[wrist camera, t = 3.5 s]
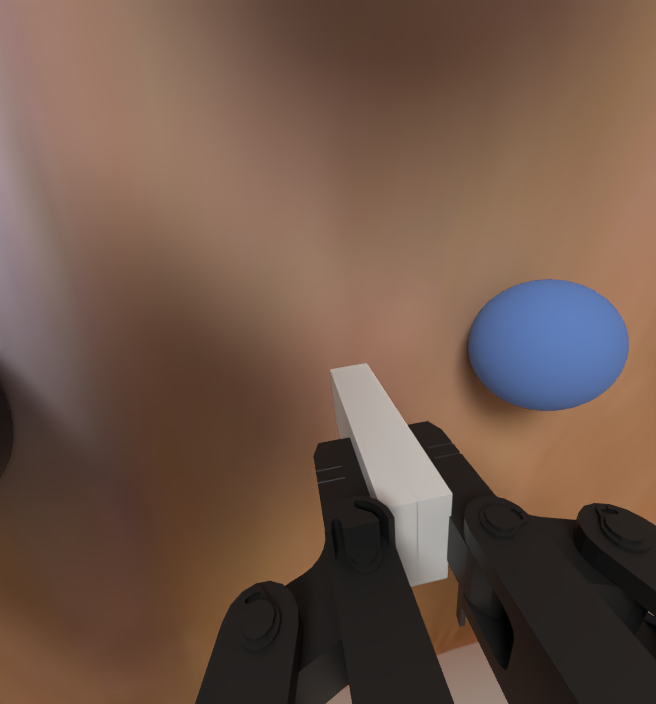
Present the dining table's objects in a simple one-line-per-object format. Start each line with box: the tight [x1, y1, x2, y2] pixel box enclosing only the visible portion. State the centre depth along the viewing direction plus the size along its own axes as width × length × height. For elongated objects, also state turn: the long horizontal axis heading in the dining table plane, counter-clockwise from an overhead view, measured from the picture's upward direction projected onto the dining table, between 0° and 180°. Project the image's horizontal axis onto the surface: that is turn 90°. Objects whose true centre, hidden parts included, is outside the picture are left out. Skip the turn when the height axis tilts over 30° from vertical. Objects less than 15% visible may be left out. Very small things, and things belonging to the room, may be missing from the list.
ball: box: [468, 279, 629, 411], centre depth 14 cm, size 6×6×6 cm
